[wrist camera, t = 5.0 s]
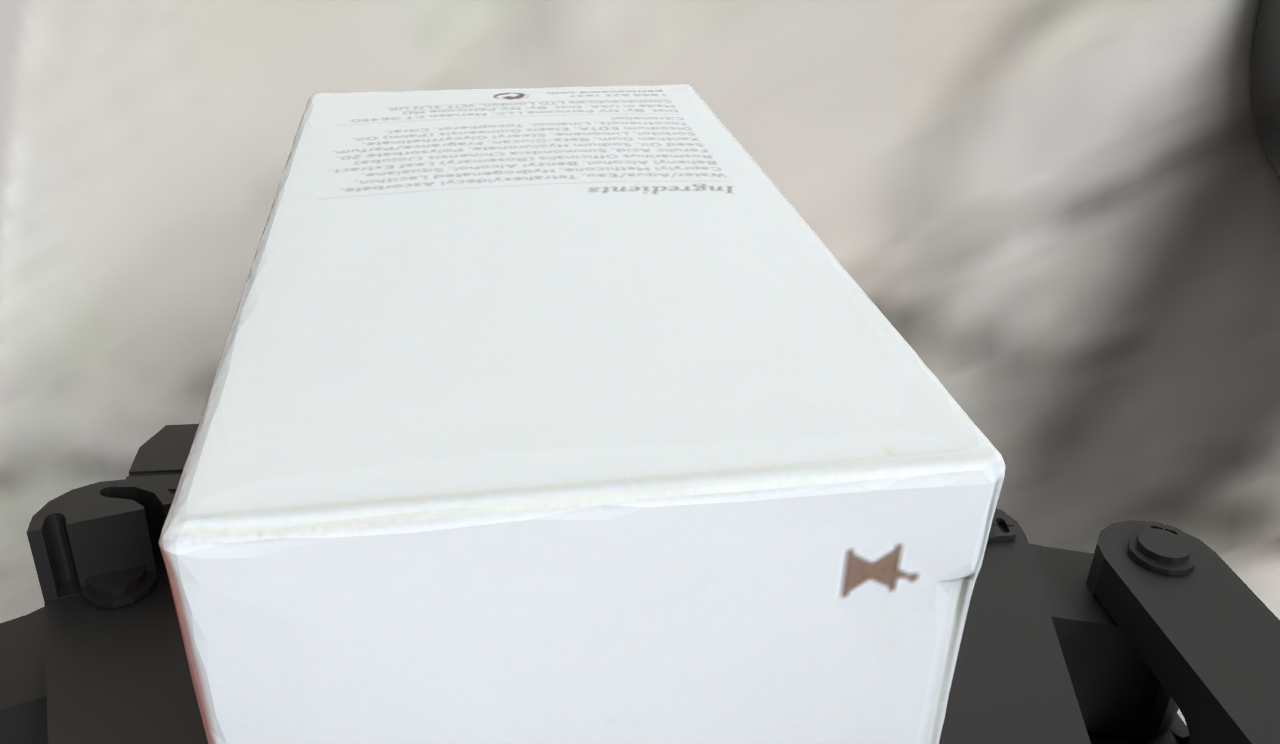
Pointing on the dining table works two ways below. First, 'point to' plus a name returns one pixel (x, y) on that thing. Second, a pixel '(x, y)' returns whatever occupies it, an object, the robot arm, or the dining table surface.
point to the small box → (565, 448)
